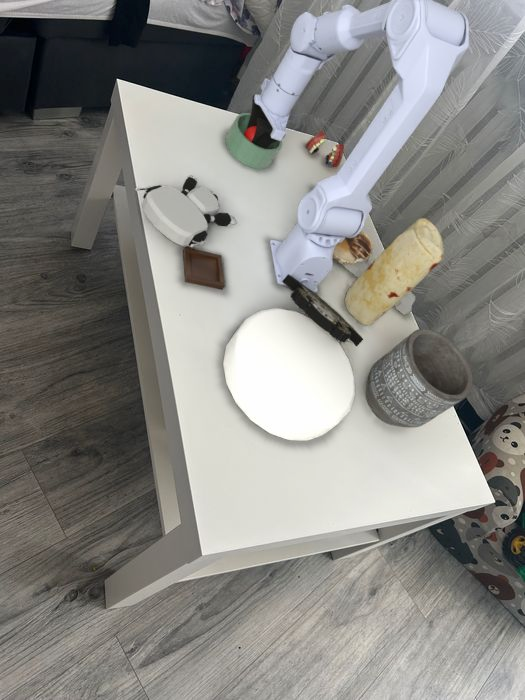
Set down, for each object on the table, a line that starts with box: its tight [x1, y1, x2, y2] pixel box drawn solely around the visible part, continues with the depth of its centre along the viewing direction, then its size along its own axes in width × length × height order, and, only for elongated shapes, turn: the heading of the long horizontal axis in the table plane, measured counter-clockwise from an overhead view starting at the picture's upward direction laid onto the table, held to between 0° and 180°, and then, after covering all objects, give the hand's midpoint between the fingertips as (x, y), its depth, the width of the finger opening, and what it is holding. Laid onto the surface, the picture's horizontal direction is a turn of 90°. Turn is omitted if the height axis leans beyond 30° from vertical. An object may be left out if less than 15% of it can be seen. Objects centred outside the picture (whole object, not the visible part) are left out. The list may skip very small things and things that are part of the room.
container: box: [222, 307, 356, 442], centre depth 87 cm, size 20×20×5 cm
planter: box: [365, 328, 474, 428], centre depth 92 cm, size 12×12×13 cm
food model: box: [344, 217, 444, 327], centre depth 98 cm, size 10×7×20 cm
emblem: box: [282, 274, 364, 347], centre depth 93 cm, size 16×2×15 cm
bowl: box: [225, 112, 283, 170], centre depth 113 cm, size 10×10×4 cm
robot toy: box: [134, 174, 238, 248], centre depth 94 cm, size 12×4×15 cm
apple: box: [244, 126, 257, 142], centre depth 112 cm, size 5×5×5 cm
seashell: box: [333, 230, 374, 265], centre depth 105 cm, size 8×6×10 cm
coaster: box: [182, 246, 226, 291], centre depth 92 cm, size 6×6×1 cm
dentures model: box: [305, 130, 345, 168], centre depth 124 cm, size 6×4×8 cm
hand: (252, 143), depth 114 cm, fingers closed on apple, 4 cm apart
